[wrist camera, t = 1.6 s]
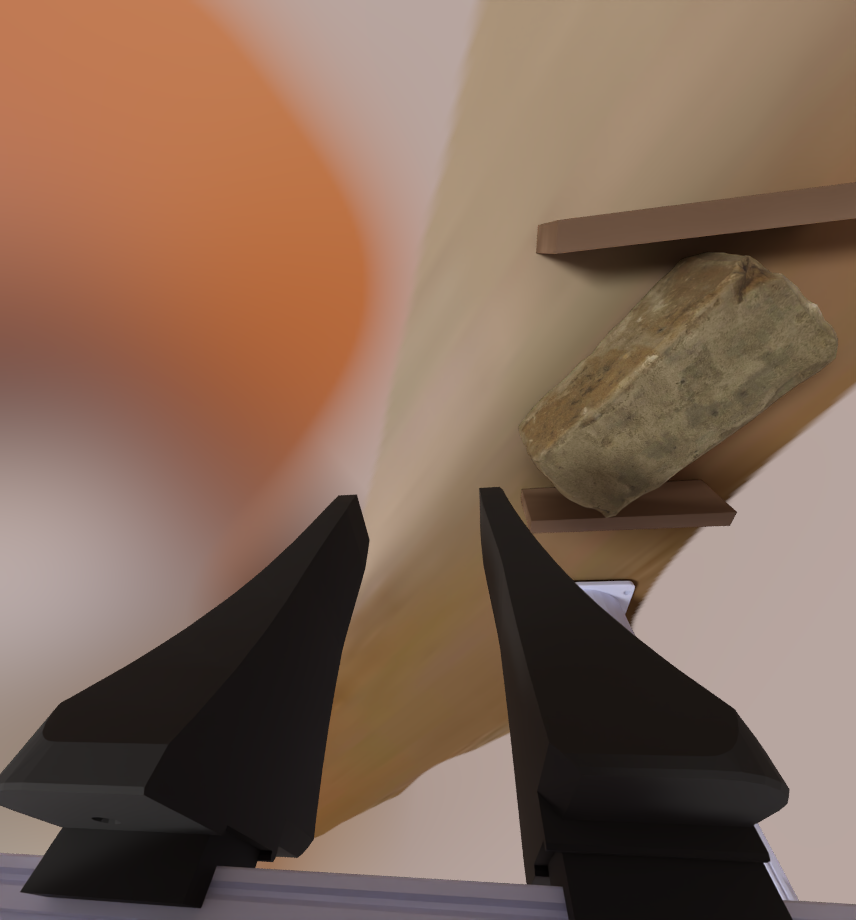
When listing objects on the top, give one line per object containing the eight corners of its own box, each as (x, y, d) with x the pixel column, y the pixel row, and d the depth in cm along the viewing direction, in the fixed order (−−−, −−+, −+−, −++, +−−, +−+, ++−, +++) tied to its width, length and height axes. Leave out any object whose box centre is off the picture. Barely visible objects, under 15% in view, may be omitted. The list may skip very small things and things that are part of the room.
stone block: (758, 322, 16) (870, 349, 12) (573, 477, 21) (603, 534, 17) (685, 240, 14) (784, 237, 10) (505, 430, 20) (520, 480, 15)
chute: (695, 492, 21) (729, 525, 19) (520, 500, 22) (530, 533, 20) (824, 189, 13) (915, 174, 10) (537, 225, 14) (558, 220, 11)
